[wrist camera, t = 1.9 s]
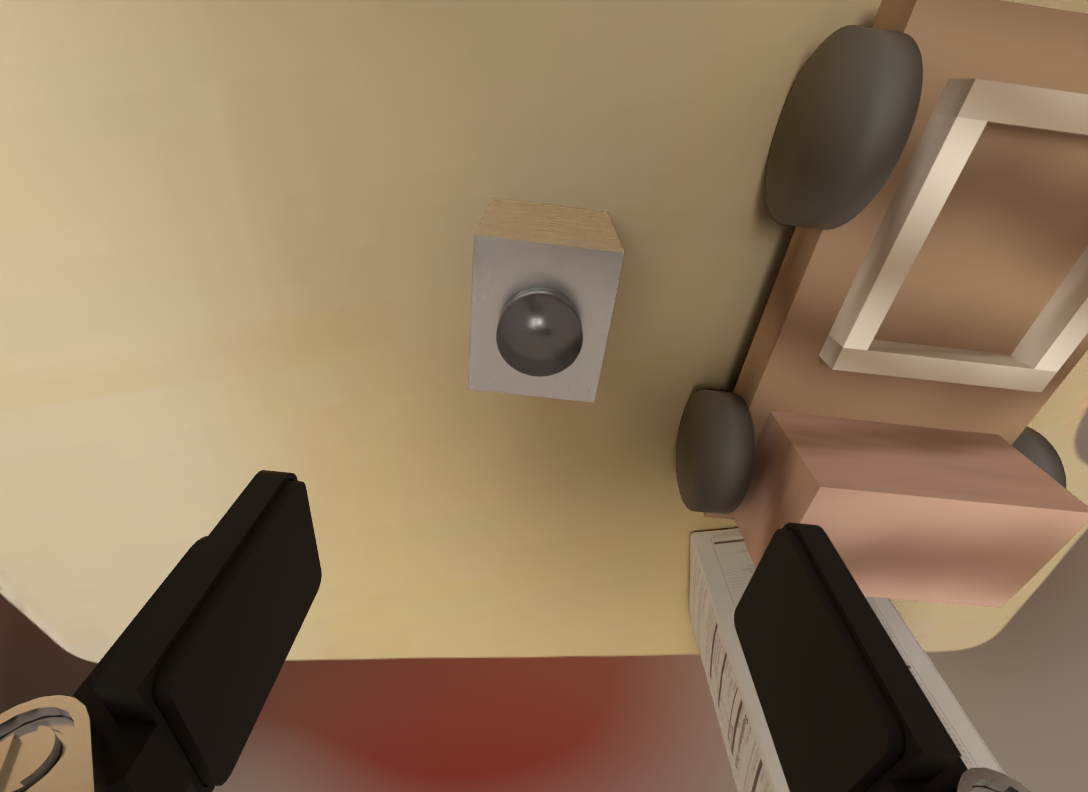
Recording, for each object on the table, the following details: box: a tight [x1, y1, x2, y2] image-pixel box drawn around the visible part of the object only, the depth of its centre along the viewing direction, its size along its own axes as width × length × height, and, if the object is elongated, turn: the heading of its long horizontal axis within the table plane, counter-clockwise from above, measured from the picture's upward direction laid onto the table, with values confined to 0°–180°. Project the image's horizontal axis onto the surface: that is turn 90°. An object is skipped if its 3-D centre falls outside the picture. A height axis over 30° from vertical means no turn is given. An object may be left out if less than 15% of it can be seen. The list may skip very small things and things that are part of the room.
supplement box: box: [689, 528, 1005, 792], centre depth 27 cm, size 10×9×17 cm
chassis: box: [676, 0, 1088, 608], centre depth 20 cm, size 22×16×8 cm
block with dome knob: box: [468, 198, 625, 402], centre depth 20 cm, size 6×5×7 cm
